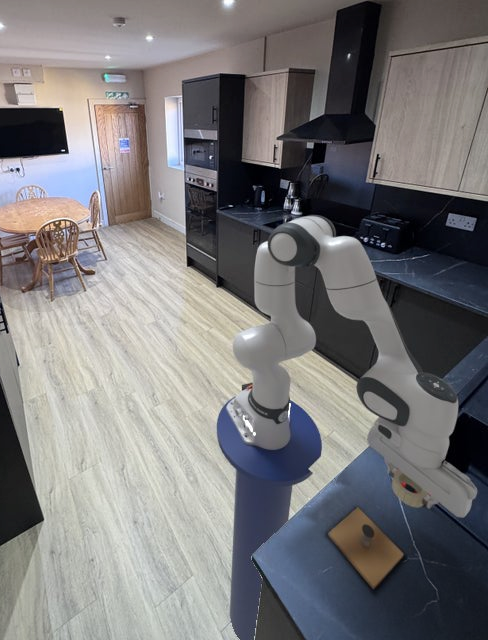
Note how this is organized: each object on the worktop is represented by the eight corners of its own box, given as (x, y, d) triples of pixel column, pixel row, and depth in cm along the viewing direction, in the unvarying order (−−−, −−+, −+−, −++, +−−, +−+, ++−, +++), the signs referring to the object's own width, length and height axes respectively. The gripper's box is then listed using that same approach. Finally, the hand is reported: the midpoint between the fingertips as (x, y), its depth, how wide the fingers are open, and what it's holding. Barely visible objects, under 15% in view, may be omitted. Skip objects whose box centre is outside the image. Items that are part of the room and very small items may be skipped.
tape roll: (386, 487, 76) (388, 478, 75) (401, 473, 79) (403, 464, 78) (415, 513, 71) (418, 503, 70) (430, 497, 74) (433, 488, 73)
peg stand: (327, 535, 75) (330, 520, 74) (357, 509, 80) (360, 494, 79) (373, 590, 66) (377, 574, 65) (403, 556, 71) (407, 541, 70)
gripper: (486, 477, 63) (469, 525, 67) (383, 406, 80) (374, 448, 84) (472, 494, 60) (454, 543, 64) (367, 416, 77) (359, 459, 81)
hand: (408, 488), depth 75 cm, fingers closed on tape roll, 6 cm apart
